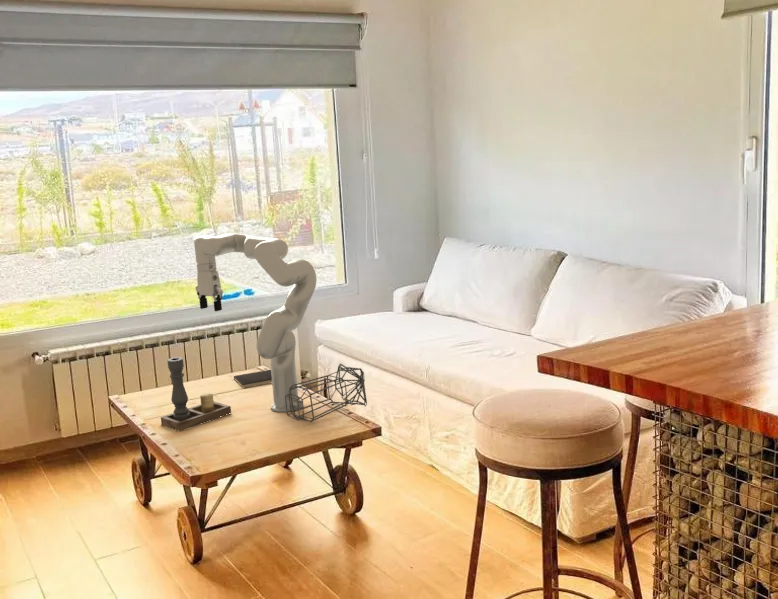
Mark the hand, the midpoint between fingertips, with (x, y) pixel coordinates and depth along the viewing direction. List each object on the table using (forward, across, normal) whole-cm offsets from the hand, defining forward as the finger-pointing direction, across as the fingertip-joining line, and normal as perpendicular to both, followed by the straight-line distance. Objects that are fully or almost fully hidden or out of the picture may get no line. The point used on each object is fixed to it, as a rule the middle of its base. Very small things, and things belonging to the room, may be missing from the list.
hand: (211, 309), depth 346 cm
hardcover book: (+39, +10, -30) cm, 50 cm away
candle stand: (+38, -11, +19) cm, 44 cm away
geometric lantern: (+32, -47, +2) cm, 56 cm away
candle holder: (+38, -10, +25) cm, 47 cm away
